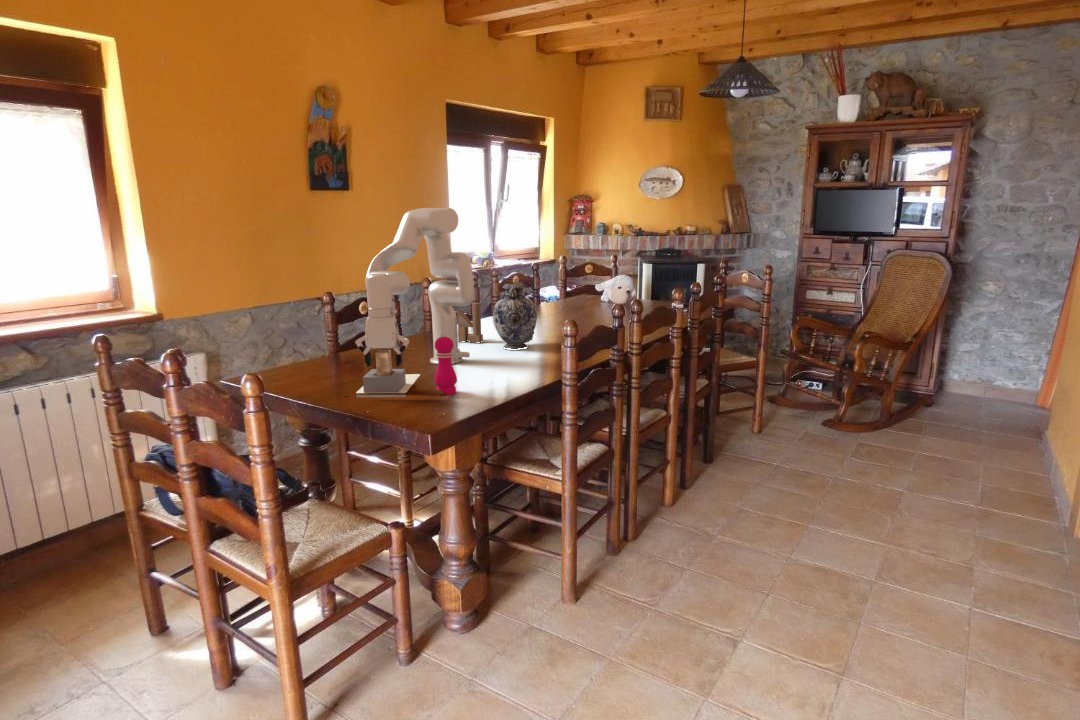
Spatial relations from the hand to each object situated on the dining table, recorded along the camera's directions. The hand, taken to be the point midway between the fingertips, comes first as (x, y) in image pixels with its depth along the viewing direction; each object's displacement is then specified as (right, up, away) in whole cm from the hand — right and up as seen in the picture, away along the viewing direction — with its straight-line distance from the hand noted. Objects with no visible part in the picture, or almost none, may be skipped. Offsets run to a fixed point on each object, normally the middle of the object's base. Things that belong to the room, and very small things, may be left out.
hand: (383, 365), depth 208 cm
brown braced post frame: (+19, +10, +82) cm, 85 cm away
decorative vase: (+40, +7, +69) cm, 80 cm away
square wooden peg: (0, -7, +2) cm, 7 cm away
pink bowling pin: (+20, -9, +1) cm, 22 cm away
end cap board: (0, -7, +8) cm, 11 cm away
